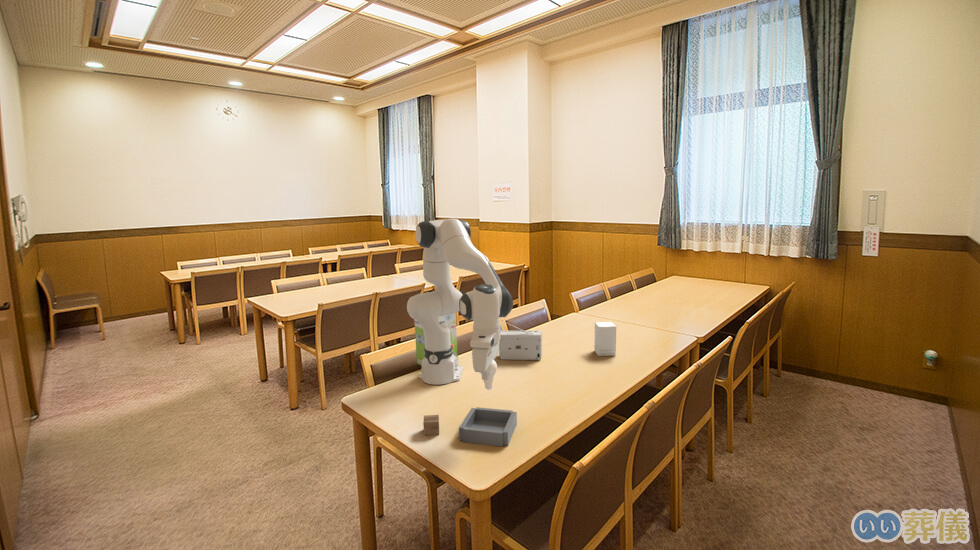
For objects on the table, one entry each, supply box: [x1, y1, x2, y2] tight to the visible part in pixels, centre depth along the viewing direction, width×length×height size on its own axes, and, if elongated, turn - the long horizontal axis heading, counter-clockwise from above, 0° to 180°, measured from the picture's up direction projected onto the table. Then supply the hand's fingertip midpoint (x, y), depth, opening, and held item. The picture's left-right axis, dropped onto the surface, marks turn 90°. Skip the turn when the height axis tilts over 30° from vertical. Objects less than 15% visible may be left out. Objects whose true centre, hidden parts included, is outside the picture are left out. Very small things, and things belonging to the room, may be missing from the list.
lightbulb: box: [479, 359, 498, 391], centre depth 154 cm, size 6×6×11 cm
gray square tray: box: [458, 406, 518, 447], centre depth 156 cm, size 16×16×4 cm
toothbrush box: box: [413, 312, 459, 367], centre depth 222 cm, size 18×10×24 cm, turn 131°
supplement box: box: [593, 321, 617, 357], centre depth 232 cm, size 9×9×15 cm
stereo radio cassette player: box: [498, 320, 543, 361], centre depth 227 cm, size 21×8×20 cm, turn 84°
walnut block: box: [422, 414, 440, 437], centre depth 157 cm, size 5×5×5 cm
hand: (487, 375), depth 154 cm, fingers closed on lightbulb, 5 cm apart
